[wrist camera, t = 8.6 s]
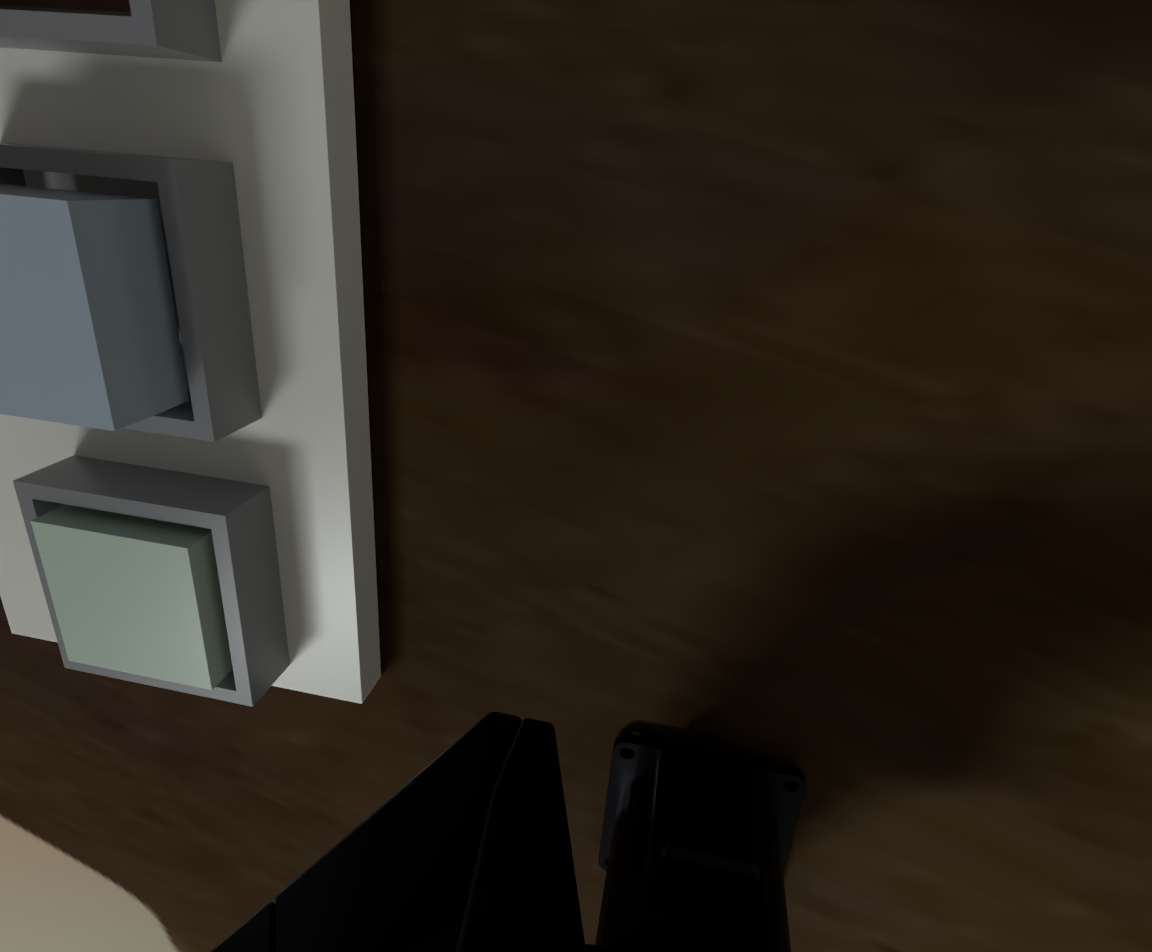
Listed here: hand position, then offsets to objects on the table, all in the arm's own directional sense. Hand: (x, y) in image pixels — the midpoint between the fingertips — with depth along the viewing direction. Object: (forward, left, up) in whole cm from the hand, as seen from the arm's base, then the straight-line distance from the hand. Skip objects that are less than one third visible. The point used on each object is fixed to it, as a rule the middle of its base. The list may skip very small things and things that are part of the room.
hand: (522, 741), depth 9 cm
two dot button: (+3, +14, -9) cm, 17 cm away
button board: (+3, +15, -12) cm, 19 cm away
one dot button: (-6, +14, -10) cm, 18 cm away
